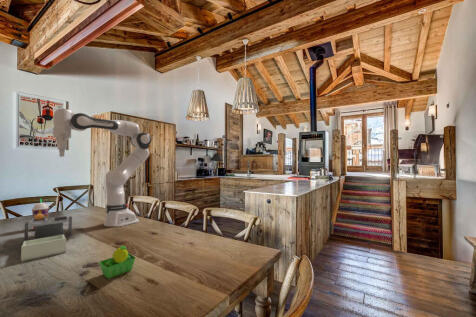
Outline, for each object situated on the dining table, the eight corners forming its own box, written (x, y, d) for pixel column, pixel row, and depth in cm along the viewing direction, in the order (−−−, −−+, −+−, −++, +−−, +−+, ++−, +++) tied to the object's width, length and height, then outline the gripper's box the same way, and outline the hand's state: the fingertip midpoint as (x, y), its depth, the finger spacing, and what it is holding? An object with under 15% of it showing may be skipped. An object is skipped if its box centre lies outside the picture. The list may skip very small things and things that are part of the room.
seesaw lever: (65, 218, 140) (65, 213, 140) (69, 221, 119) (69, 214, 120) (31, 223, 129) (31, 217, 130) (29, 227, 109) (29, 219, 109)
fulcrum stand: (71, 233, 132) (71, 216, 133) (71, 235, 130) (72, 217, 130) (24, 242, 119) (25, 222, 119) (24, 243, 116) (24, 223, 116)
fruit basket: (127, 264, 94) (128, 238, 94) (137, 270, 88) (137, 243, 88) (98, 274, 85) (98, 246, 85) (106, 282, 79) (107, 252, 80)
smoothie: (40, 230, 138) (41, 199, 138) (27, 230, 138) (28, 199, 138) (52, 227, 146) (52, 197, 147) (40, 226, 146) (40, 197, 147)
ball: (43, 219, 133) (43, 212, 133) (43, 220, 130) (43, 213, 130) (34, 220, 130) (34, 213, 130) (34, 221, 127) (34, 214, 127)
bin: (63, 243, 117) (64, 230, 117) (66, 252, 105) (66, 238, 105) (23, 251, 106) (23, 237, 106) (21, 262, 95) (21, 246, 95)
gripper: (70, 133, 129) (69, 156, 129) (67, 136, 144) (66, 156, 144) (56, 132, 125) (55, 156, 125) (55, 135, 140) (54, 156, 140)
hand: (61, 156), depth 135 cm, fingers open, 8 cm apart
